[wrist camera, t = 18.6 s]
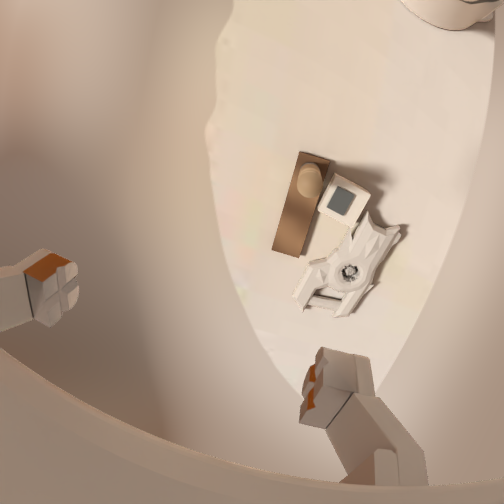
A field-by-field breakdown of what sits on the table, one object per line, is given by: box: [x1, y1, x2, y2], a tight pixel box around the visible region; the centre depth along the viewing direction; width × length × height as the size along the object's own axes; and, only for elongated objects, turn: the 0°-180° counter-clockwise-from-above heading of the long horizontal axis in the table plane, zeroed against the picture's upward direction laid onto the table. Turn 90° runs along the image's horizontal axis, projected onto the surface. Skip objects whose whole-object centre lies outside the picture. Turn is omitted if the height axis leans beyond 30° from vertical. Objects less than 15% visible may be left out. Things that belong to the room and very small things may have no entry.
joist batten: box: [271, 152, 330, 258], centre depth 41 cm, size 14×4×1 cm, turn 167°
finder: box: [318, 173, 371, 228], centre depth 39 cm, size 5×5×3 cm
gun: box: [292, 210, 401, 318], centre depth 43 cm, size 18×3×10 cm
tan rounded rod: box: [297, 162, 323, 198], centre depth 35 cm, size 3×3×9 cm
